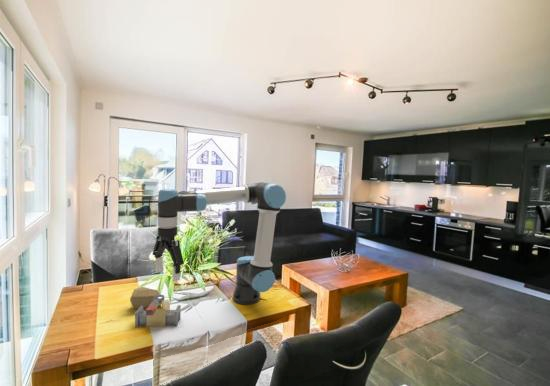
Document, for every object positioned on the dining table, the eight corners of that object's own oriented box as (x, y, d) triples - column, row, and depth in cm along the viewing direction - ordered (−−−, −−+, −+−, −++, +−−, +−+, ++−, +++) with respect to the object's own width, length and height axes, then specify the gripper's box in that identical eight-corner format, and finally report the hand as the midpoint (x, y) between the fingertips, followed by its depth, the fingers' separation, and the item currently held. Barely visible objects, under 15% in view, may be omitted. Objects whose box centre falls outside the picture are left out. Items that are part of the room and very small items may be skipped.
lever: (154, 299, 127) (154, 294, 127) (165, 299, 128) (165, 294, 128) (143, 315, 113) (143, 310, 113) (155, 315, 114) (155, 309, 113)
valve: (180, 317, 130) (180, 297, 130) (177, 326, 123) (177, 304, 123) (140, 318, 128) (140, 298, 128) (134, 327, 121) (134, 305, 121)
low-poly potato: (122, 312, 134) (133, 307, 128) (124, 288, 139) (135, 283, 133) (152, 310, 145) (164, 306, 139) (153, 288, 150) (164, 283, 144)
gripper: (193, 230, 110) (192, 282, 111) (160, 221, 125) (160, 266, 127) (176, 232, 104) (175, 287, 105) (144, 223, 119) (144, 271, 121)
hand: (167, 276), depth 116 cm, fingers open, 13 cm apart
